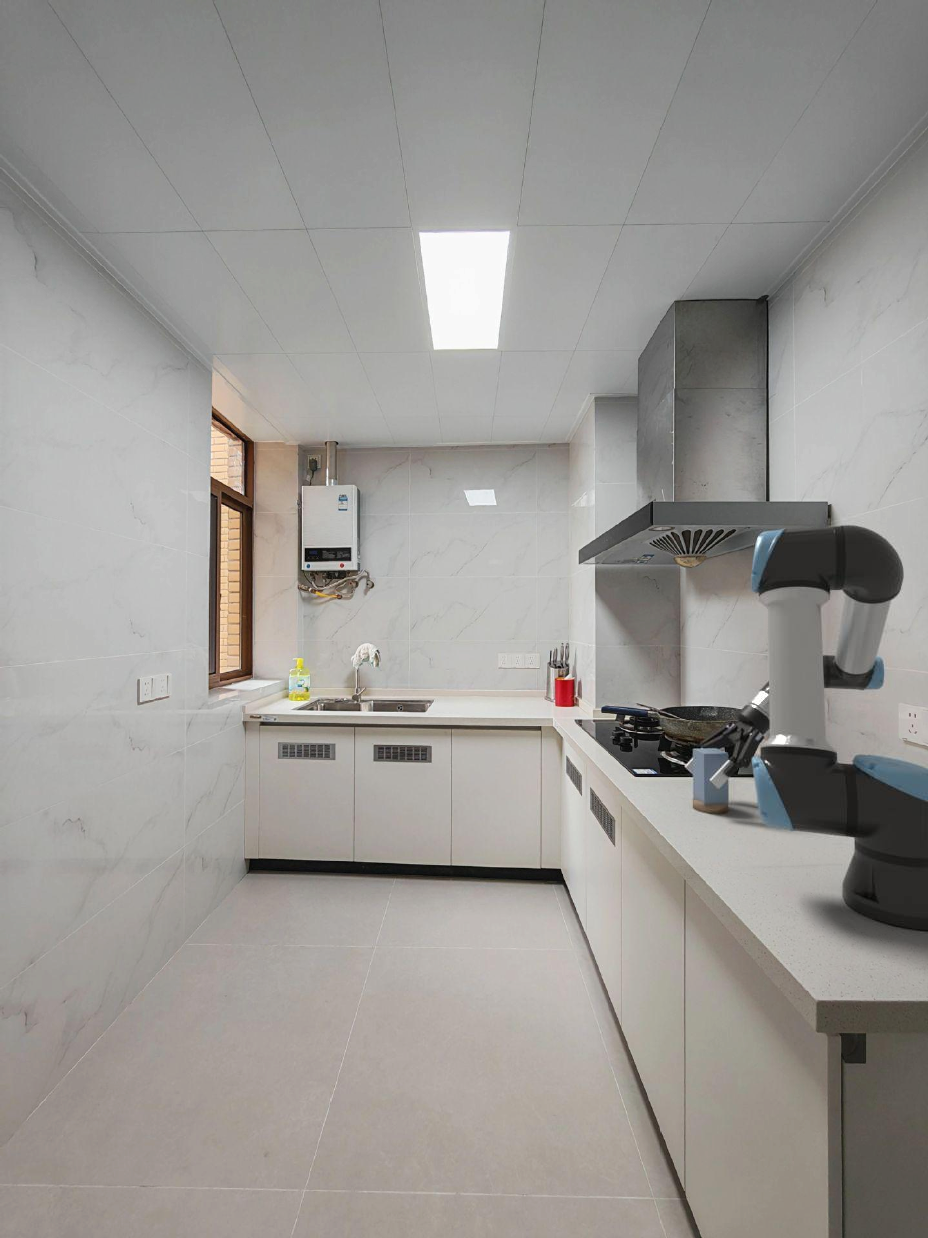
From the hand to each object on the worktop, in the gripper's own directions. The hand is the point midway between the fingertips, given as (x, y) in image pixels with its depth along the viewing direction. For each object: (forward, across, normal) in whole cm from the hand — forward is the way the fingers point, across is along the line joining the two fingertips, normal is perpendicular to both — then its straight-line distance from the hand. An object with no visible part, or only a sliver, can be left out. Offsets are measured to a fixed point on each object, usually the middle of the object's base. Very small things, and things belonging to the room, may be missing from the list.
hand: (700, 777), depth 151 cm
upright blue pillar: (+2, 0, -6) cm, 6 cm away
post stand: (+4, 0, -7) cm, 8 cm away
